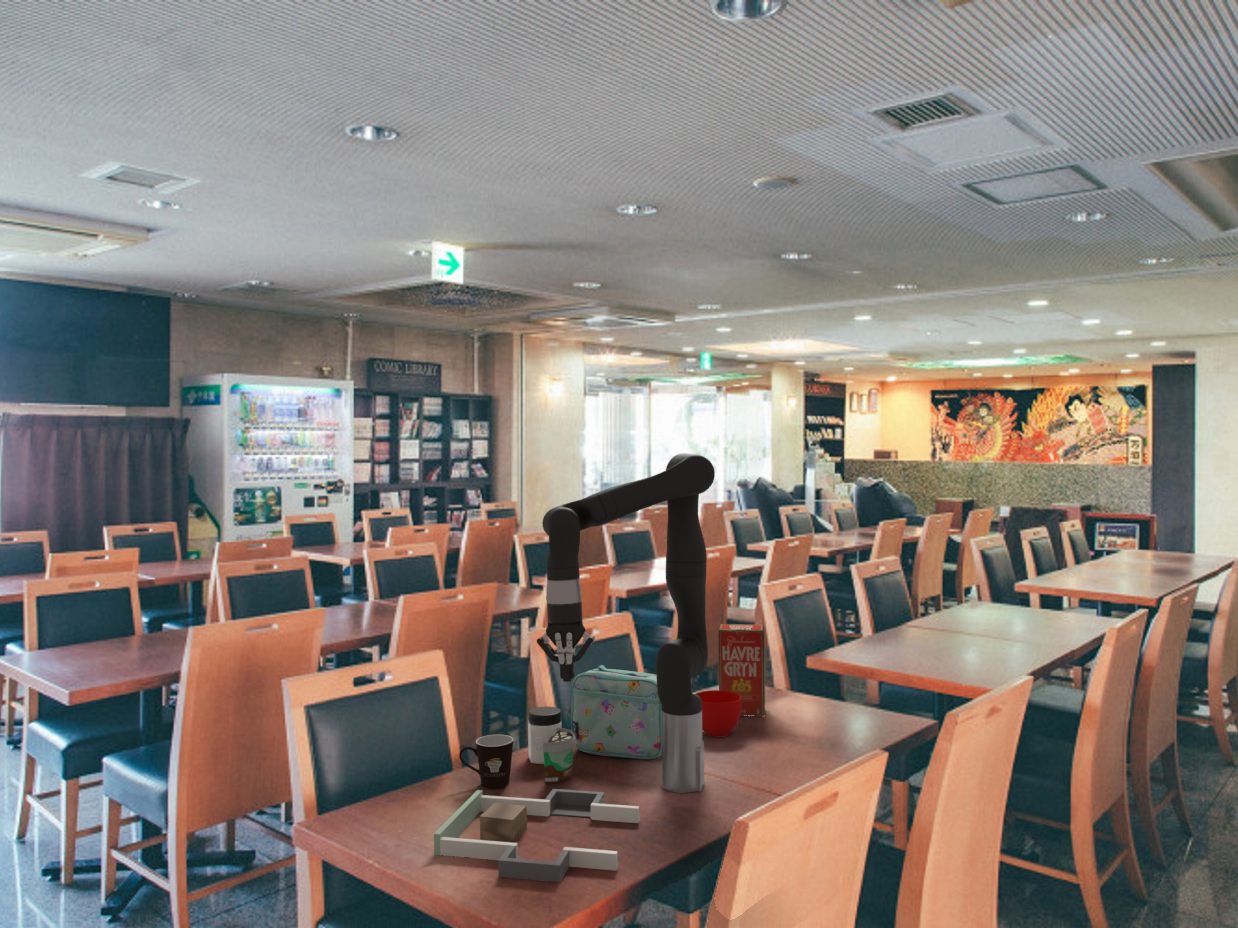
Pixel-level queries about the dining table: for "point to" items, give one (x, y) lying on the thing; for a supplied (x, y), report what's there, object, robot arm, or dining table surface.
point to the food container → (559, 757)
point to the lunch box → (616, 713)
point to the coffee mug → (493, 760)
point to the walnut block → (503, 823)
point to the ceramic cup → (719, 712)
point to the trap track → (552, 805)
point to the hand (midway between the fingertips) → (567, 680)
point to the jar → (541, 730)
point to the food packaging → (743, 665)
